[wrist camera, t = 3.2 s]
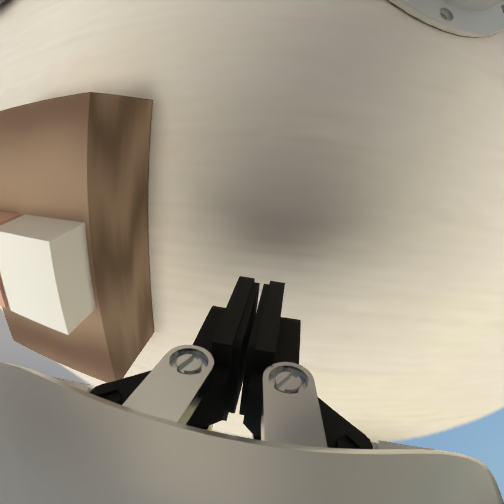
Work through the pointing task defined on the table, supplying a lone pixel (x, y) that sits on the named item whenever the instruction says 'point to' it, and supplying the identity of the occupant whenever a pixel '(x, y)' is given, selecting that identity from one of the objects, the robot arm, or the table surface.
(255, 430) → the robot arm
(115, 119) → the brown wooden block
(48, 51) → the table surface
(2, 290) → the terracotta tile
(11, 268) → the cream tile
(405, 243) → the table surface
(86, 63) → the table surface
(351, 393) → the table surface
